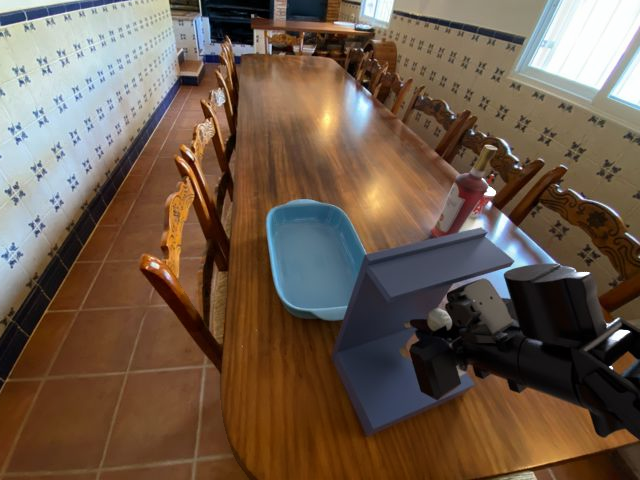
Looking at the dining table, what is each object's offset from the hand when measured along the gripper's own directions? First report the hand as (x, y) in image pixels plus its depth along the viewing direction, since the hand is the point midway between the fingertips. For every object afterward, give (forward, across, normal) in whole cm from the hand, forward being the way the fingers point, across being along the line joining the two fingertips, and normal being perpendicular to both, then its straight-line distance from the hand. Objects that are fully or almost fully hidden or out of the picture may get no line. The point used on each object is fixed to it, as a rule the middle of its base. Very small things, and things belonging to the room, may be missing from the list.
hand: (423, 329), depth 47 cm
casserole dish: (+29, +3, -10) cm, 31 cm away
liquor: (+25, -36, -7) cm, 45 cm away
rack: (+8, +2, +10) cm, 13 cm away
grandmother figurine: (+4, 0, +6) cm, 7 cm away
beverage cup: (+29, -55, -10) cm, 63 cm away
